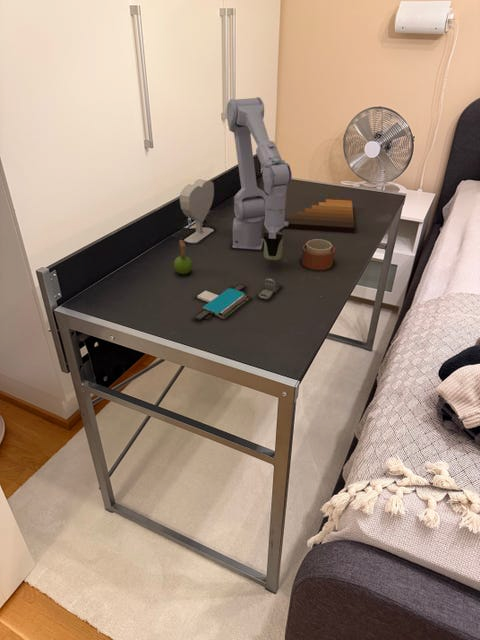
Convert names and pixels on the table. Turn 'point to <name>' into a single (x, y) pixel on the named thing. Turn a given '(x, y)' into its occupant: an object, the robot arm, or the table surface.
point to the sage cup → (279, 251)
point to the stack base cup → (317, 259)
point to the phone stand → (222, 302)
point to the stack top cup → (318, 246)
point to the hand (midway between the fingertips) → (273, 251)
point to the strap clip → (268, 289)
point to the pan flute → (325, 217)
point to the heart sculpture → (197, 206)
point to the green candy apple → (182, 260)
